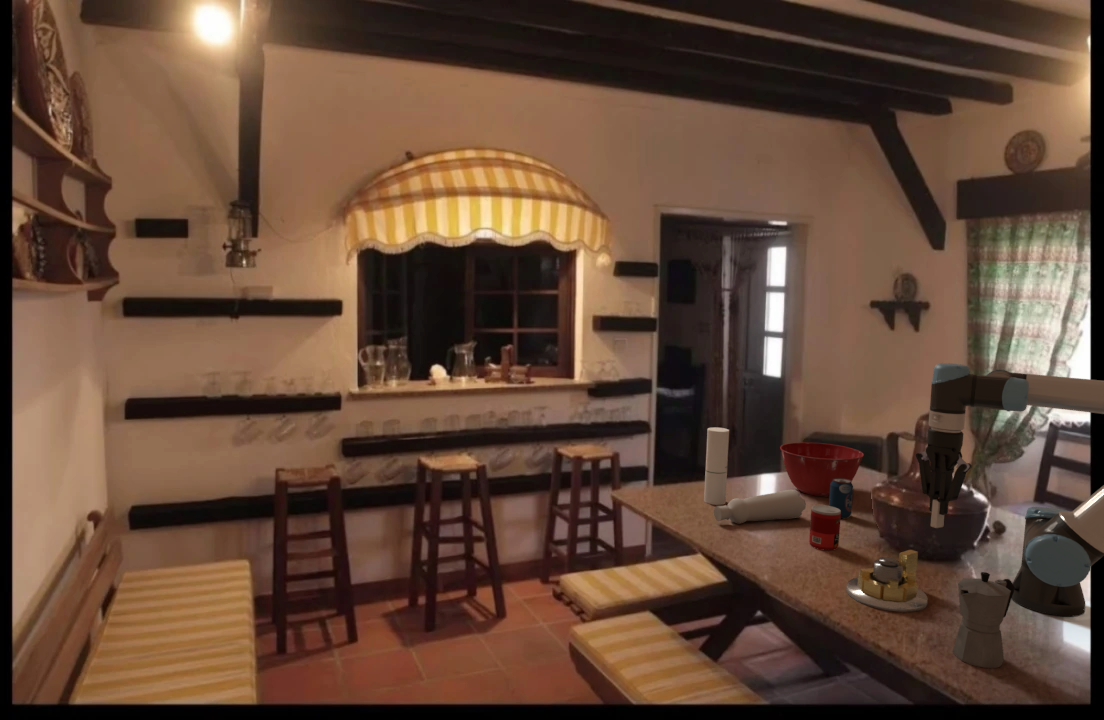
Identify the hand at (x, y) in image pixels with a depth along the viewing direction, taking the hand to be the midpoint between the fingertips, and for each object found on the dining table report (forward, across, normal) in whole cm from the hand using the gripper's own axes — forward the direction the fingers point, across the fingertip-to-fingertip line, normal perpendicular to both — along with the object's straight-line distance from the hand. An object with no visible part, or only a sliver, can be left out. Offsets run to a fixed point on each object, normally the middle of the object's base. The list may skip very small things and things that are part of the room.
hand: (936, 526), depth 182 cm
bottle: (+19, -63, +5) cm, 66 cm away
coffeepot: (+18, +23, -16) cm, 34 cm away
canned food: (+19, -37, +5) cm, 42 cm away
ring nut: (+17, -6, -6) cm, 19 cm away
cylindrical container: (+19, -85, +5) cm, 87 cm away
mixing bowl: (+19, -79, +49) cm, 95 cm away
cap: (+18, -6, -8) cm, 21 cm away
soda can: (+19, -55, +32) cm, 67 cm away
